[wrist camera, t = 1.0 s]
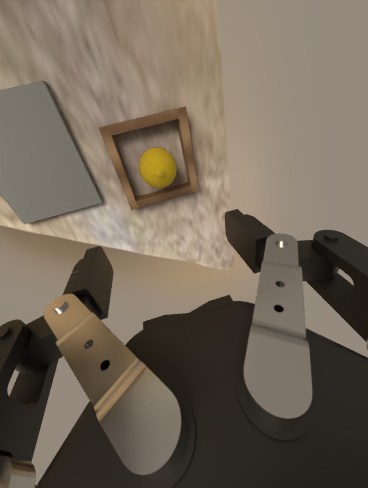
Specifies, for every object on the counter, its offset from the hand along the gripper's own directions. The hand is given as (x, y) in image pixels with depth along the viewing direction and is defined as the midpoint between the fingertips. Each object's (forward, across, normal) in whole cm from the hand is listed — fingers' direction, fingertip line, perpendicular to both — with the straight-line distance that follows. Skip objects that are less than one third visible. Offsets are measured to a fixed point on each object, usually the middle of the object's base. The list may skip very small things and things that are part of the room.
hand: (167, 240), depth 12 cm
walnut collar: (+24, -2, -1) cm, 24 cm away
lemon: (+24, -2, 0) cm, 24 cm away
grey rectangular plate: (+24, +16, -4) cm, 29 cm away
